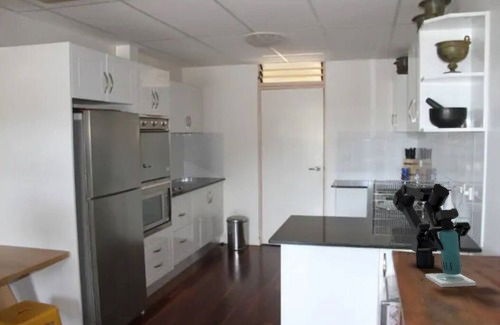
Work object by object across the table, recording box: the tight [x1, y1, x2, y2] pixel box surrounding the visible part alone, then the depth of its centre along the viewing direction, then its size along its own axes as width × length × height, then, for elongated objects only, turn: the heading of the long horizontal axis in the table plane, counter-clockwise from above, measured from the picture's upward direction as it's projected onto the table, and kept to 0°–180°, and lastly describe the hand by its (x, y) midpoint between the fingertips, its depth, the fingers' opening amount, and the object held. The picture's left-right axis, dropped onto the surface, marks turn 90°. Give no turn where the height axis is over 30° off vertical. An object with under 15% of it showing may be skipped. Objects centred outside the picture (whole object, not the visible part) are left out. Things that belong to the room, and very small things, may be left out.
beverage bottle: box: [438, 220, 463, 275], centre depth 151 cm, size 6×7×20 cm
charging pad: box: [425, 272, 477, 288], centre depth 151 cm, size 12×12×1 cm
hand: (450, 249), depth 150 cm, fingers closed on beverage bottle, 6 cm apart
